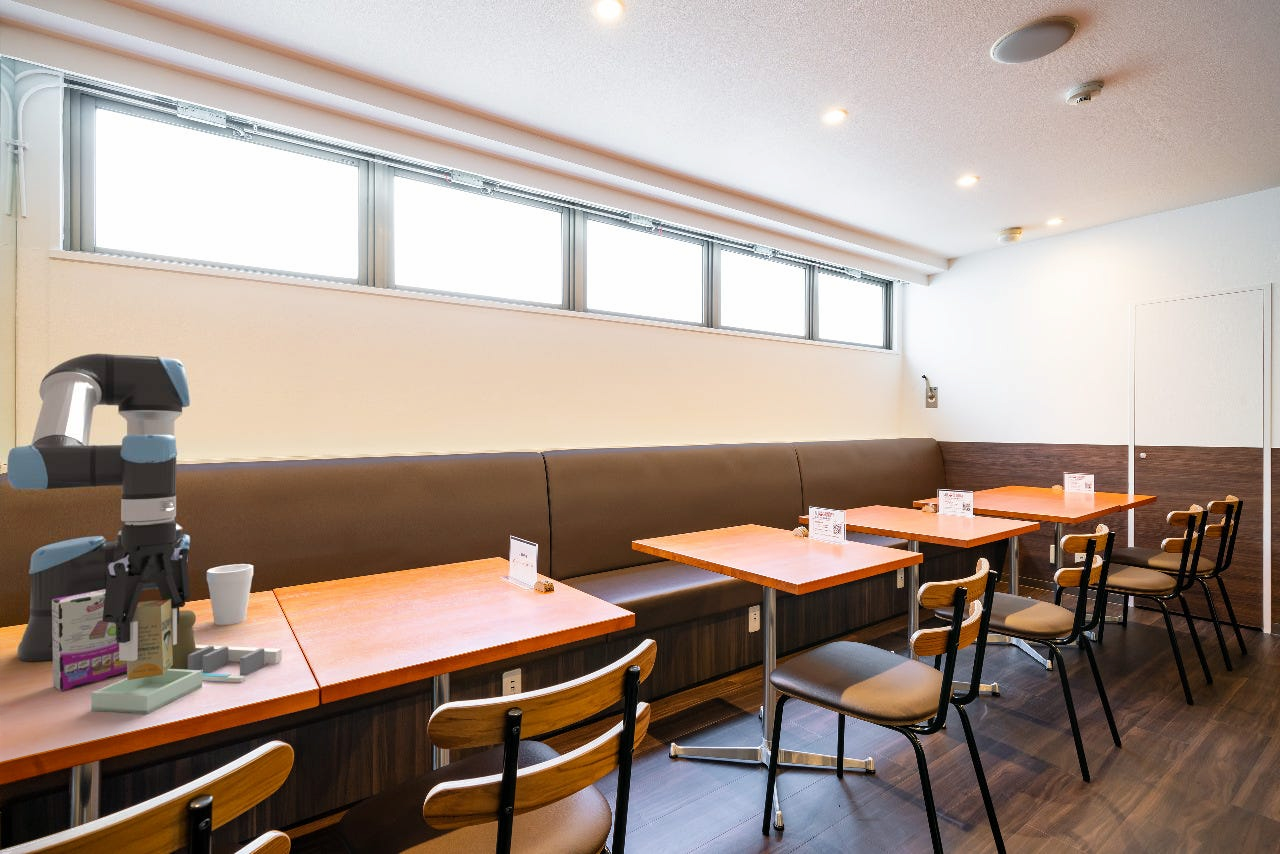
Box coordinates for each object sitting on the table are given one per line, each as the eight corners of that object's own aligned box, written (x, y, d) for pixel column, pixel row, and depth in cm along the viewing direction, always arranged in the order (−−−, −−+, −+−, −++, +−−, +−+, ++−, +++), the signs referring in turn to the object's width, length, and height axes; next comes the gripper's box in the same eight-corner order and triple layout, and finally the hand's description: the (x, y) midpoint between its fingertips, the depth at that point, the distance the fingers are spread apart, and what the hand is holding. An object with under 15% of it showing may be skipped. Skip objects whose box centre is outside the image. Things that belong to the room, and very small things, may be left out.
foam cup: (235, 627, 142) (235, 573, 142) (197, 627, 142) (197, 573, 142) (261, 614, 151) (261, 564, 151) (225, 614, 152) (225, 564, 152)
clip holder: (127, 675, 114) (128, 657, 114) (177, 655, 124) (177, 638, 124) (241, 682, 111) (241, 663, 111) (281, 660, 121) (281, 643, 121)
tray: (91, 710, 100) (91, 692, 100) (150, 683, 110) (150, 667, 110) (147, 714, 99) (147, 696, 99) (201, 686, 109) (201, 670, 109)
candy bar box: (127, 666, 119) (127, 584, 119) (136, 671, 116) (137, 587, 116) (50, 686, 109) (50, 597, 109) (59, 693, 107) (59, 602, 107)
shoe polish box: (172, 664, 108) (171, 598, 108) (162, 674, 103) (161, 605, 103) (138, 669, 106) (137, 602, 106) (127, 680, 101) (125, 609, 101)
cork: (182, 673, 115) (182, 616, 115) (151, 673, 115) (152, 616, 115) (205, 661, 121) (205, 607, 121) (176, 660, 121) (176, 607, 121)
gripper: (111, 531, 94) (111, 675, 94) (215, 513, 114) (214, 633, 114) (70, 530, 95) (70, 673, 95) (180, 513, 115) (180, 632, 115)
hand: (149, 651), depth 104 cm, fingers closed on shoe polish box, 7 cm apart
